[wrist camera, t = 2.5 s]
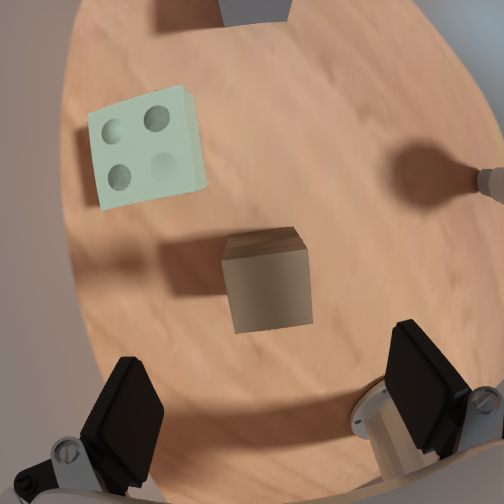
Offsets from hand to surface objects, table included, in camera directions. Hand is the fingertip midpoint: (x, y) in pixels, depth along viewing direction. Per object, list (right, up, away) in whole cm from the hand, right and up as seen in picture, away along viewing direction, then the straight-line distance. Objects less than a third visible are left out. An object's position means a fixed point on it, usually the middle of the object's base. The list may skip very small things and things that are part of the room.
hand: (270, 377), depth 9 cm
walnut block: (0, +4, +13) cm, 14 cm away
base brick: (-8, +12, +11) cm, 18 cm away
